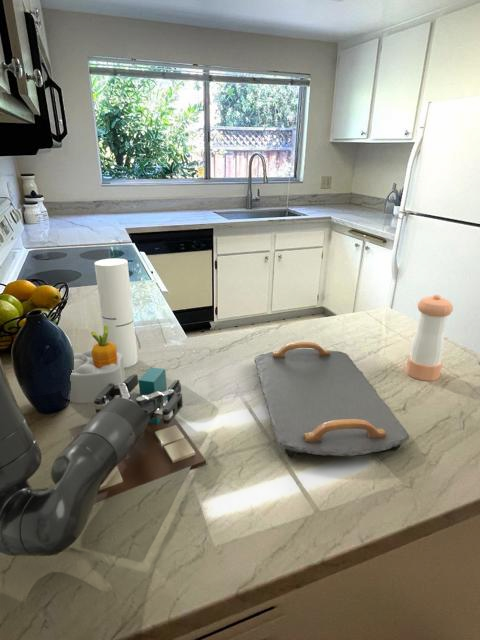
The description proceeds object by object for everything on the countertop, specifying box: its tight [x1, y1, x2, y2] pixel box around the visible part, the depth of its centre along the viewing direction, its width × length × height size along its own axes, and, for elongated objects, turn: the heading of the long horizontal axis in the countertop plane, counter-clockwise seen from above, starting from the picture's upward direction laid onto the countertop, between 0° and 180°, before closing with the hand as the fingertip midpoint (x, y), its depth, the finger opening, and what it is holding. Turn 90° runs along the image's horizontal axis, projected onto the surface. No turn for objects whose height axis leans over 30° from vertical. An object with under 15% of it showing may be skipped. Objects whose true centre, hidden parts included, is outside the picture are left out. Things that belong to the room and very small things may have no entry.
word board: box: [68, 416, 207, 504], centre depth 69 cm, size 18×20×1 cm
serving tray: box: [254, 341, 410, 458], centre depth 82 cm, size 39×23×6 cm, turn 5°
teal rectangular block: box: [138, 366, 168, 424], centre depth 75 cm, size 3×5×9 cm, turn 166°
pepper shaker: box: [405, 294, 454, 382], centre depth 90 cm, size 7×7×19 cm
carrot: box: [90, 325, 117, 368], centre depth 83 cm, size 5×5×15 cm
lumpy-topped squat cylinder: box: [69, 347, 127, 404], centre depth 84 cm, size 10×13×9 cm
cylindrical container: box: [93, 257, 139, 369], centre depth 95 cm, size 7×7×25 cm
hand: (156, 381), depth 76 cm, fingers open, 8 cm apart
